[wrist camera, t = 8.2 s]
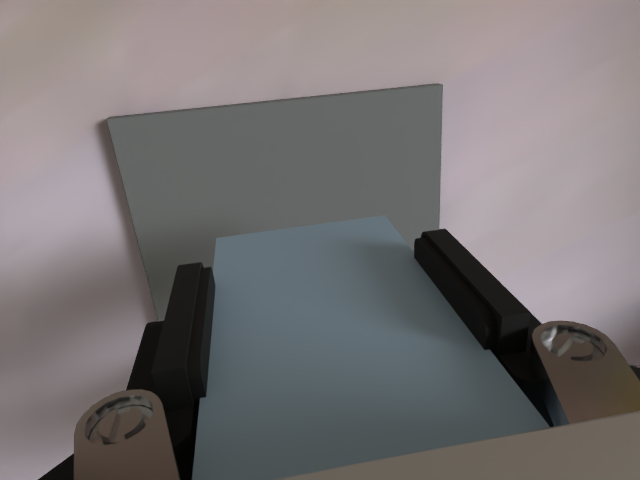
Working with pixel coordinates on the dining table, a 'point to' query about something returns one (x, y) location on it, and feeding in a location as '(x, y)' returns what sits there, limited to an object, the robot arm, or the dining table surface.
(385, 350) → the domino placed
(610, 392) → the robot arm
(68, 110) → the dining table surface
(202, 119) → the mat
